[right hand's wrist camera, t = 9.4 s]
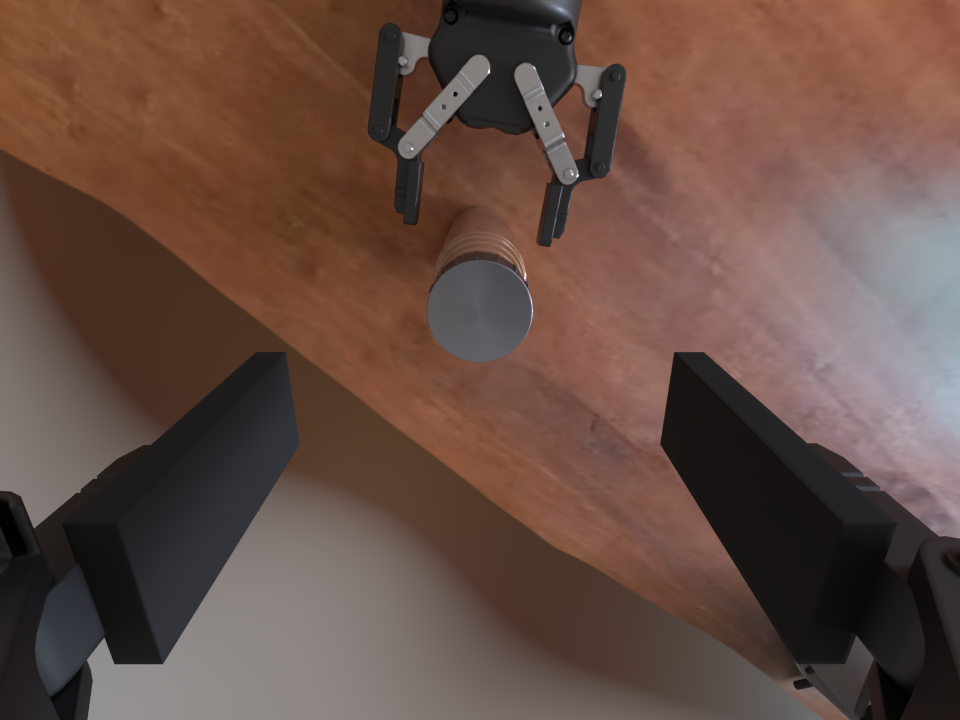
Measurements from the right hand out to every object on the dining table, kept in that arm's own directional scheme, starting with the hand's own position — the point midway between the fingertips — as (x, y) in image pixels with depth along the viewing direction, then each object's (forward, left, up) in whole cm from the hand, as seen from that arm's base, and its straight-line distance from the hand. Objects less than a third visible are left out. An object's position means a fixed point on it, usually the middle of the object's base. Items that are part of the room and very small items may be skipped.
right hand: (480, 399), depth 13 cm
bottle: (0, 0, -28) cm, 28 cm away
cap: (0, 0, -8) cm, 8 cm away
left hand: (+1, +1, -21) cm, 21 cm away
